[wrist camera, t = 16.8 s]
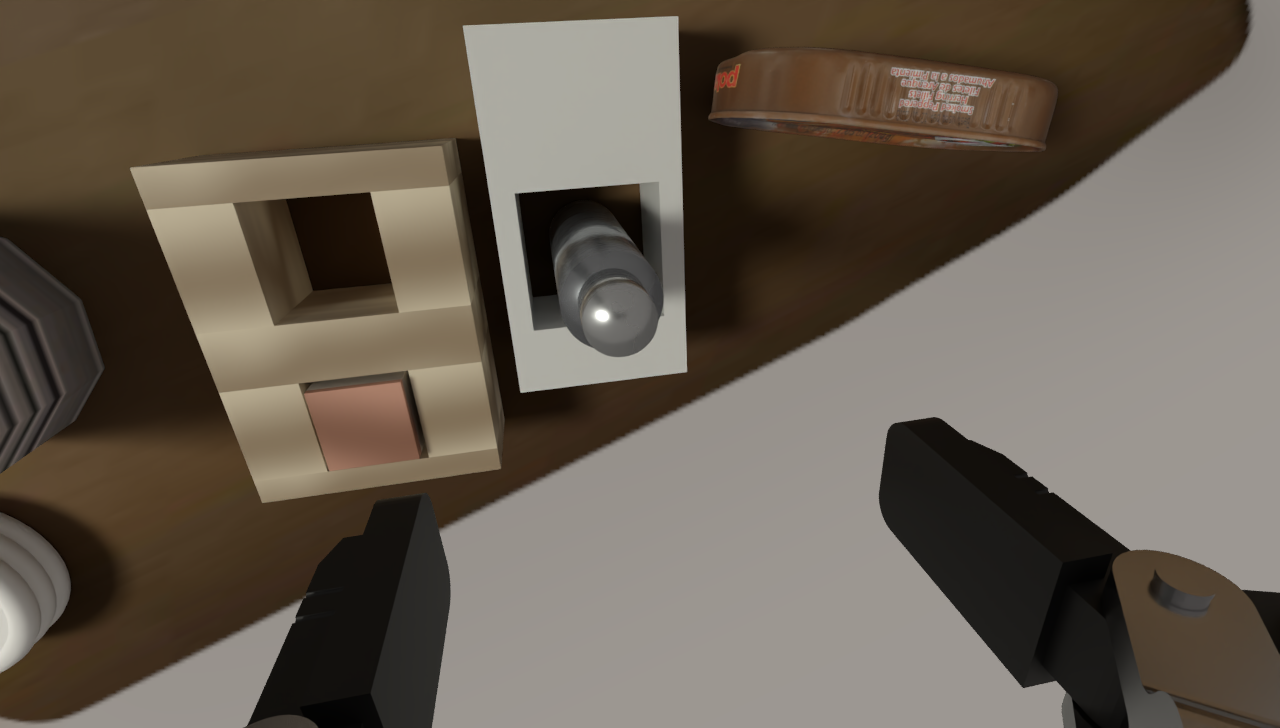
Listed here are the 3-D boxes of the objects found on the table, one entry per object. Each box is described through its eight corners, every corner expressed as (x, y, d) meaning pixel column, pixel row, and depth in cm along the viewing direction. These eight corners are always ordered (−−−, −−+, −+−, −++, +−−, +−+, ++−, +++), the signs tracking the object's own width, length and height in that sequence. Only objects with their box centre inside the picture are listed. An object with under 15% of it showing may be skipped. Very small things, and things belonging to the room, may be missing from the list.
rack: (473, 38, 26) (462, 25, 21) (652, 29, 27) (678, 16, 23) (521, 352, 32) (520, 393, 28) (665, 334, 33) (687, 371, 29)
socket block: (198, 155, 26) (129, 167, 21) (455, 138, 27) (441, 145, 23) (299, 446, 32) (262, 502, 28) (504, 419, 34) (501, 468, 29)
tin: (687, 122, 29) (743, 131, 21) (696, 49, 28) (759, 32, 20) (955, 152, 32) (1088, 169, 24) (974, 88, 31) (1120, 85, 23)
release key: (334, 353, 30) (304, 393, 25) (417, 343, 30) (400, 382, 26) (355, 422, 31) (329, 471, 27) (433, 412, 32) (419, 458, 28)
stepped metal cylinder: (544, 202, 29) (556, 272, 18) (616, 196, 30) (675, 260, 18) (553, 273, 31) (569, 380, 19) (621, 266, 31) (678, 367, 20)
